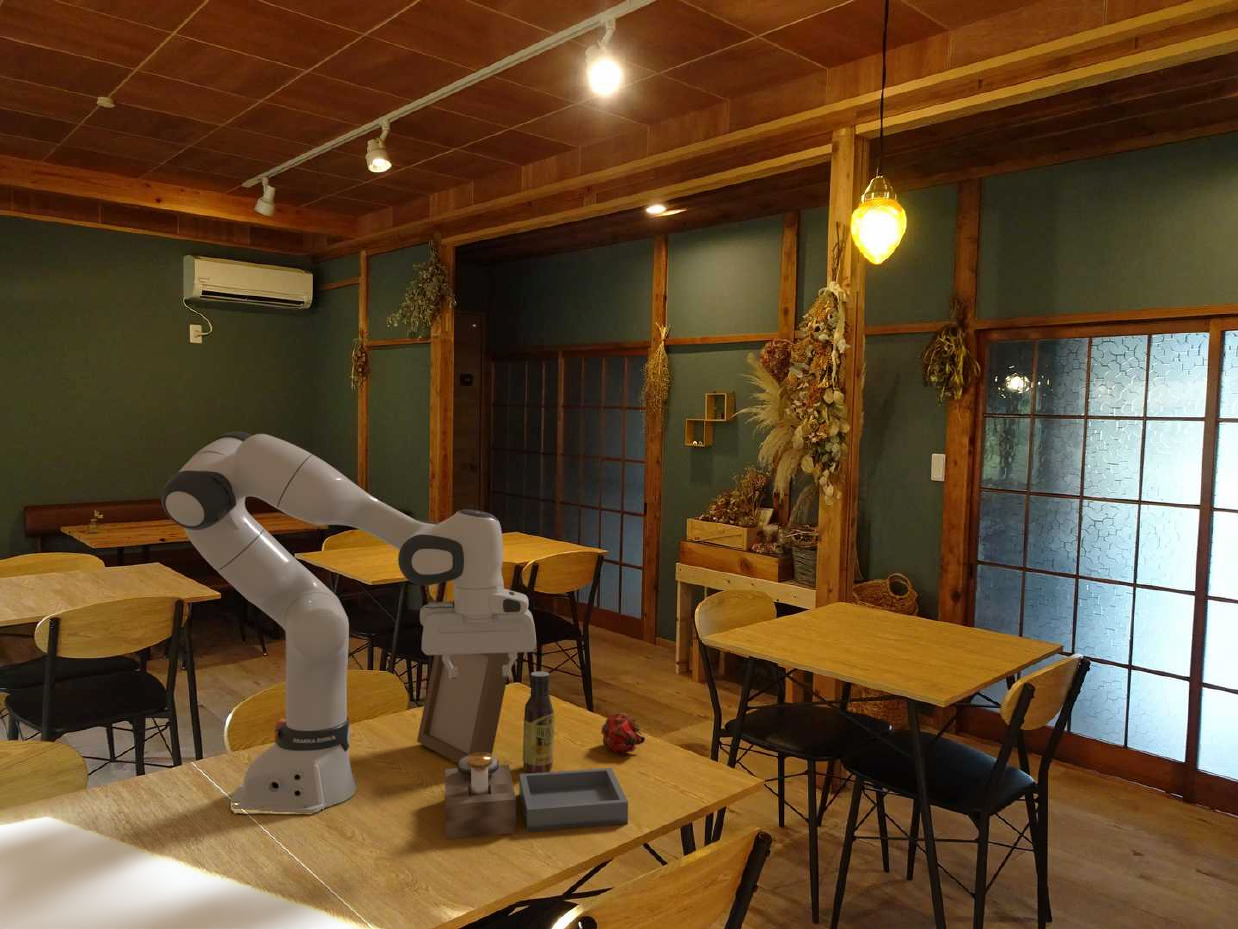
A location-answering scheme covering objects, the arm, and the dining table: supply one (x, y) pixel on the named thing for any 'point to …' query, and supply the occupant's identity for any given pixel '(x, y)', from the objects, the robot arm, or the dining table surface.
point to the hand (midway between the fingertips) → (480, 677)
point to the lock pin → (479, 772)
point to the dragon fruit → (621, 733)
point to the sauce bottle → (538, 726)
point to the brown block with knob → (479, 802)
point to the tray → (572, 799)
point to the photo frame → (463, 705)
